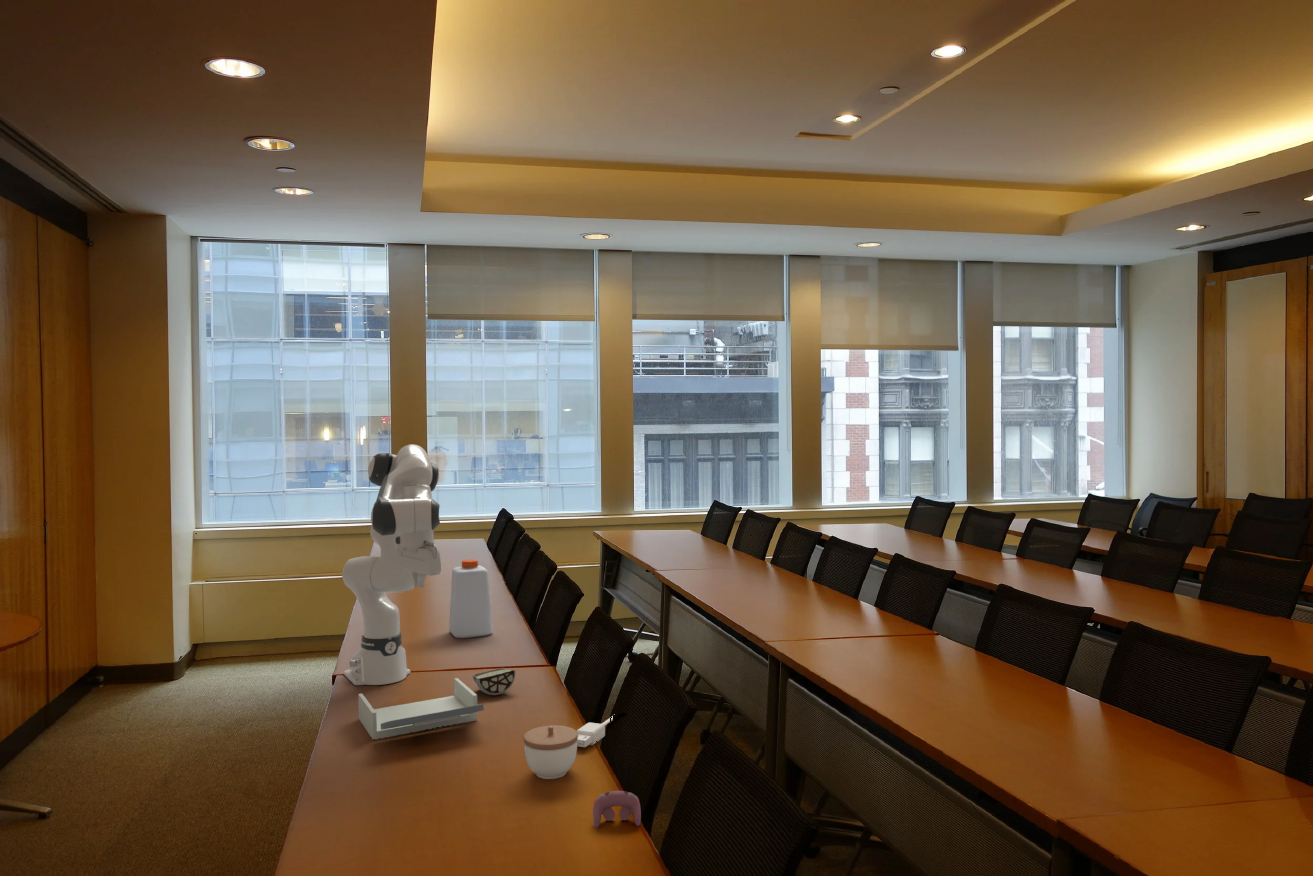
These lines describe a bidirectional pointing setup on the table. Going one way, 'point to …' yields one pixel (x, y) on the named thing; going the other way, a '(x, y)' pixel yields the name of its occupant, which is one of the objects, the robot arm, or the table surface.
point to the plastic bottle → (470, 601)
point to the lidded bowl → (550, 750)
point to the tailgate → (432, 717)
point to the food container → (495, 681)
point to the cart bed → (416, 712)
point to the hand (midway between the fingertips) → (418, 587)
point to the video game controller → (616, 799)
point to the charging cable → (591, 733)
